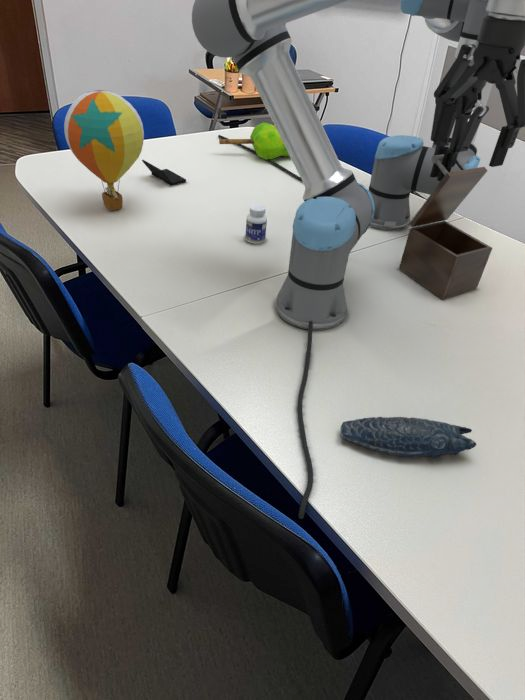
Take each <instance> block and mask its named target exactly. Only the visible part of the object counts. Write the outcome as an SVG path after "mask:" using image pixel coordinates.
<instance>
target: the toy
mask: <svg viewBox="0 0 525 700" xmlns="http://www.w3.org/2000/svg"><path fill="white" fill-rule="evenodd" d="M63 128H64V130H63V131H64V132H63V133H64V137H65V141H66V144H67V146H68V148H69V150H70V151H71V152H72V154H73V156H75V158H76V159H77V161H78V162H80V163H81V165H83V166H84V167H85V168H86V169H87V170H88V171H90V172H91V173H92V174H93V175H94V176H96V177H97V178H98V179H100V180H101V183H102V184H101V185H102V187H103V191H102V193H101V198H102V203H103V205H104V207H105V208H106V209H108V210H109V211H110V212H113V211H118V210H121V209H122V208H123V203H124V201H123V195H122V194H121V193H120V192H119V191H118V190H119V188H120V183H118V182H120V181H121V178H122V177H123V176H124V175H125V174H126V173H127V172H128V171H129V170H130V169H131V167H133V165H134V164H135V163H136V161H137V160H138V159H139V158H140V155H141V153H142V150H143V147H144V141H145V131H144V130H145V129H144V125H143V121H142V119H141V116H140V114H139V113H138V111H137V109H136V108H134V106H133V105H132V103H130V102H129V101H128V100H127V99H126V98H124V97H123V96H122V95H119V94H117V93H115V92H112V91H109V90H102V89H101V90H100V89H98V90H92V91H87V92H85V93H82V95H79V96H78V97H77V98H76V99H75V100H73V102H72V103H71V105H70V107H69V108H68V111H67V112H66V114H65V118H64V124H63ZM104 183H105V184H106V185H107V186H106V187H105V186H104ZM115 183H118V185H117V190H116V188H115Z"/></svg>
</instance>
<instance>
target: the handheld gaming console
mask: <svg viewBox="0 0 525 700" xmlns="http://www.w3.org/2000/svg"><path fill="white" fill-rule="evenodd" d="M141 161H142V163H143V164H144V165H145V167H147V169H148V170H149V171H150V172H151V174H150V175H151V176H153V177H155V178H156V179H158V180H160V181H162V182H163V183H165V184H167V185H168V186H170V187H172V186H177V185H180V184H184V183H185V184H186V183H187V179H186V178H184V177H183V176H181V175H179V174H177V173H175V172H173V171H172V170H170V169H168V168H164V169H161V168H159V167H157V166H155V165H153V164H151V163H150V162H148V161H146V160H145V159H142V160H141Z"/></svg>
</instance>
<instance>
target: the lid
mask: <svg viewBox="0 0 525 700" xmlns="http://www.w3.org/2000/svg"><path fill="white" fill-rule="evenodd" d="M457 157H458V156H457ZM443 158H444V154H441V155H434V156H432V158H431V161H432V163H436V164H437V166H438V167H439V168H440V170H441V171H442V172H443V174H444V175H445V176H444V177H443V179H442V180H441V181H440V183H439V184H438V185H437V187H436V188H435V189H434V191H433V192H432V194H431V195H430V194H429V196H428V197H427V199H426V200H425V201H424V203H423V205H421V207H420V208H419V210H417V212H416V213H415V215H414V217H412V219H410V221H409V225H410V226H411V227H410V228H413V227H418V226H423V225H427V224H432V223H437V222H441V221H448V220H449V218H450V217H451V216H452V215H453V214H454V212H455V211H456V210H457V208H458V207H459V206H460V205H461V204H462V203H463V202H464V200H465V199H466V198H467V196H468V195H469V194H470V193H471V192H472V191H473V189H474V188H475V187H476V186H477V185H478V183H479V182H480V181H481V179H483V177H484V176H485V175H486V174H487V172H488V169H487V168H486V166H480V167H479V166H478V167H477V168H473V169H467V170H466V169H465V167H464V166H463V165H462V164H461V162H460V161H459V160H458V158H457V160H456V164H457V166H458V167H459V168H460V171H454V172H448V171H447V170H446V169H445V167H444V166H443V165H442V163H441V162H442V161H443Z"/></svg>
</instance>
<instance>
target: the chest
mask: <svg viewBox="0 0 525 700" xmlns="http://www.w3.org/2000/svg"><path fill="white" fill-rule="evenodd" d="M492 251H493V247H492V246H490V245H488V244H487V243H485V242H483V241H481V240H480V239H478V238H476V237H474V236H473V235H470V234H469V233H467V232H465V231H464V230H463V229H461V228H458V227H457V226H455V225H453V224H452V223H450V222H448V221H447V220H444V221H440V222H435V223H430V224H426V225H421V226H416V227H410V228H409V230H408V235H407V237H406V241H405V245H404V248H403V252H402V256H401V259H400V263H399V266H398V270H399V271H401V272H402V273H404V274H405V275H406V276H408V277H409V278H410V279H412V280H413V281H415V282H416V283H417V284H419V285H421V286H422V287H423V288H424V289H426V290H428V291H429V292H430V293H432V294H433V295H435V296H436V297H437V298H439V299H440V300H446V299H450V298H452V297H455V296H459V295H462V294H465V293H469V292H472V291H475V290H477V289H478V286H479V283H480V282H481V278H482V276H483V274H484V271H485V269H486V266H487V263H488V261H489V258H490V256H491V253H492Z"/></svg>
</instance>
